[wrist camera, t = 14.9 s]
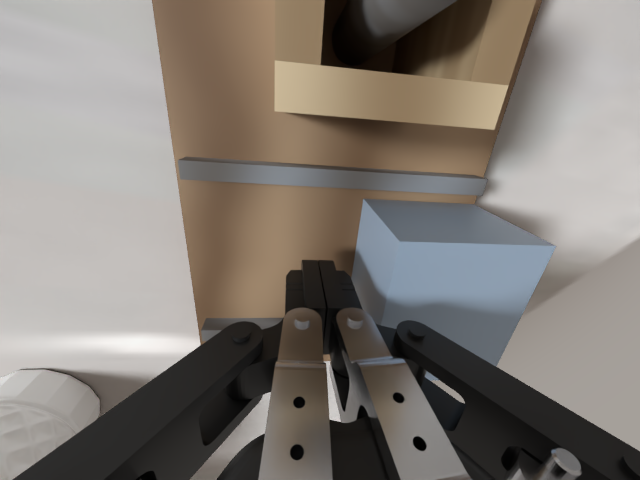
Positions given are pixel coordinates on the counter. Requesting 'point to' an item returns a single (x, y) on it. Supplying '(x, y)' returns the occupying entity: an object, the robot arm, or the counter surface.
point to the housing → (447, 271)
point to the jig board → (292, 149)
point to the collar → (406, 66)
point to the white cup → (40, 416)
